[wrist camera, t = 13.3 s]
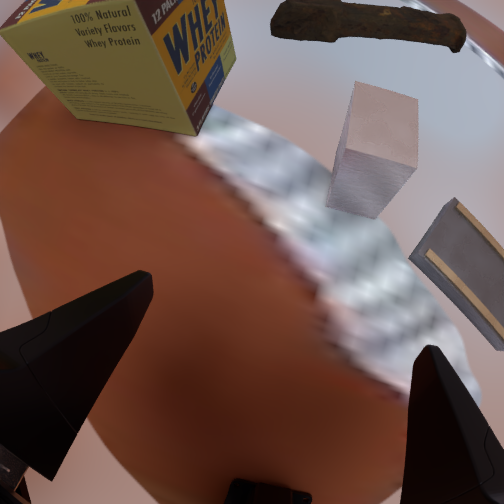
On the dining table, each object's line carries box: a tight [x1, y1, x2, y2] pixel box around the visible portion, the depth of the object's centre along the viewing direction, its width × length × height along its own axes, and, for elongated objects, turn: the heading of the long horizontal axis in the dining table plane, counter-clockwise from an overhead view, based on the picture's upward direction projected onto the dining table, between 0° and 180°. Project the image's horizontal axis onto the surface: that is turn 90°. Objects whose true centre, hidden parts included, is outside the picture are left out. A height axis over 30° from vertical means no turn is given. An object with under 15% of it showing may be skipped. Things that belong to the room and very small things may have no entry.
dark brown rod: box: [270, 0, 466, 53], centre depth 25 cm, size 23×5×6 cm, turn 94°
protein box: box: [0, 0, 236, 136], centre depth 21 cm, size 10×15×16 cm
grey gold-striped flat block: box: [408, 197, 504, 351], centre depth 21 cm, size 12×6×2 cm, turn 47°
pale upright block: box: [326, 81, 418, 219], centre depth 20 cm, size 4×5×9 cm
